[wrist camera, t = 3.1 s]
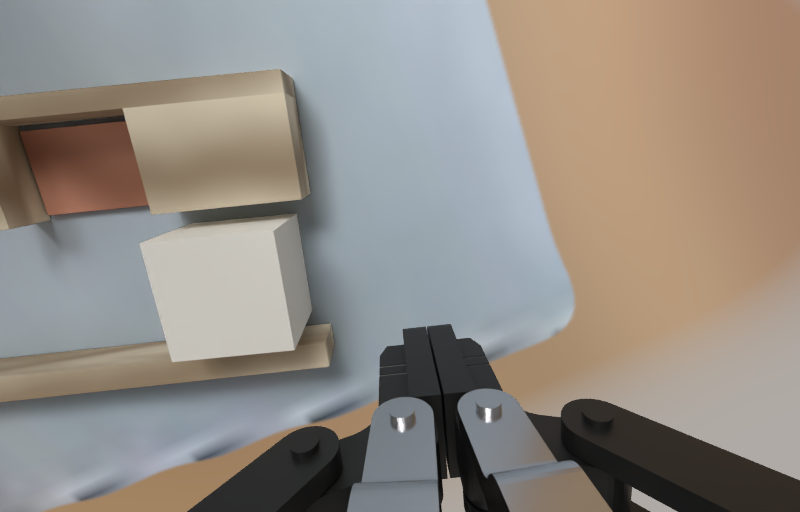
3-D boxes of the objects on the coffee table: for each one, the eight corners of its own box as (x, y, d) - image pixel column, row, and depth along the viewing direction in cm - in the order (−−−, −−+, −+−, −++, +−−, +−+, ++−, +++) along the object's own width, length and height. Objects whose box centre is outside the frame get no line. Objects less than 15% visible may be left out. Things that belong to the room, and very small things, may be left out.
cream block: (192, 222, 22) (139, 243, 17) (297, 213, 22) (273, 230, 18) (214, 319, 24) (171, 362, 19) (312, 309, 24) (294, 350, 19)
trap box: (-326, 138, 20) (-496, 136, 16) (292, 78, 20) (271, 62, 16) (-175, 399, 24) (-281, 447, 20) (334, 345, 24) (325, 381, 21)
